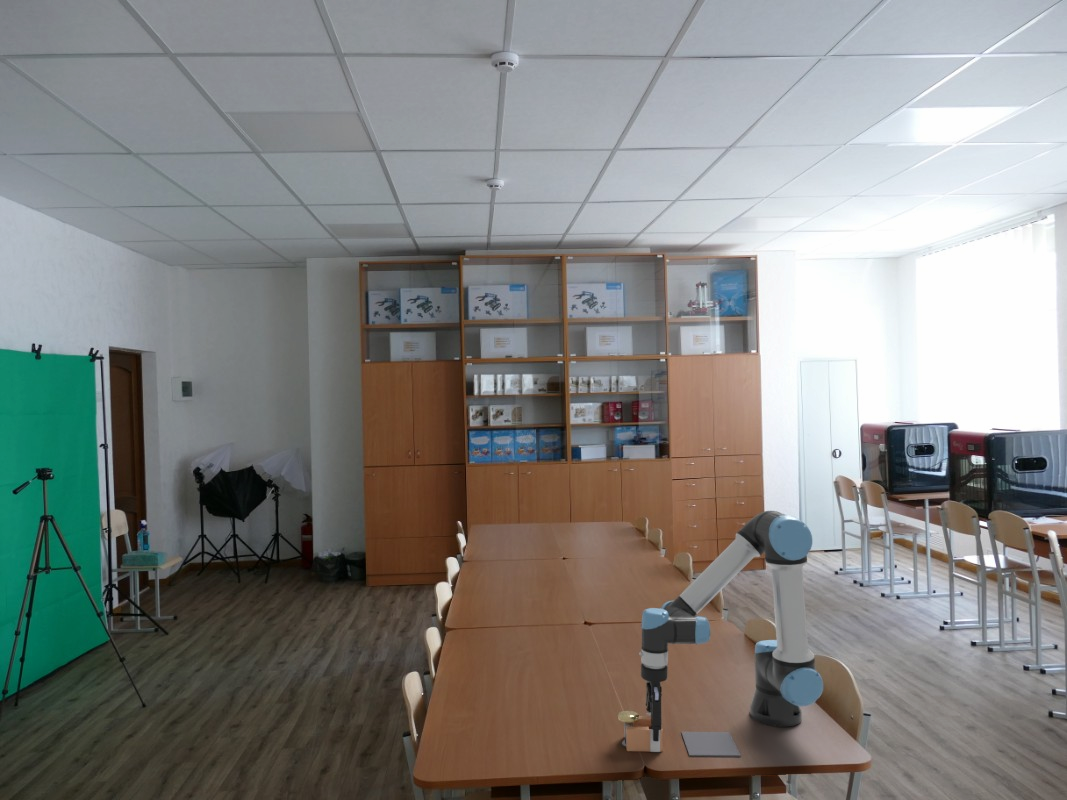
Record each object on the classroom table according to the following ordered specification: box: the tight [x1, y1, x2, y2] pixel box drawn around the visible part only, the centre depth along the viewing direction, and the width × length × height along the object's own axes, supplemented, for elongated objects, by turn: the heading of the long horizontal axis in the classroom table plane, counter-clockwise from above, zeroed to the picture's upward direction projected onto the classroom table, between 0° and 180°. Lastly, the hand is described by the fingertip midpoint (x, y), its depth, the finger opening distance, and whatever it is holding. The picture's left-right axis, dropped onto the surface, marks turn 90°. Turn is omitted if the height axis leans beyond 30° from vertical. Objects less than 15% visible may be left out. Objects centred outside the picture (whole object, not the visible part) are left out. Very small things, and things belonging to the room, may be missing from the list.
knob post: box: [617, 710, 640, 747], centre depth 205 cm, size 6×6×8 cm
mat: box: [680, 731, 742, 758], centre depth 204 cm, size 14×14×1 cm
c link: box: [623, 715, 664, 753], centre depth 204 cm, size 10×9×6 cm
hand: (652, 742), depth 204 cm, fingers closed on c link, 9 cm apart
